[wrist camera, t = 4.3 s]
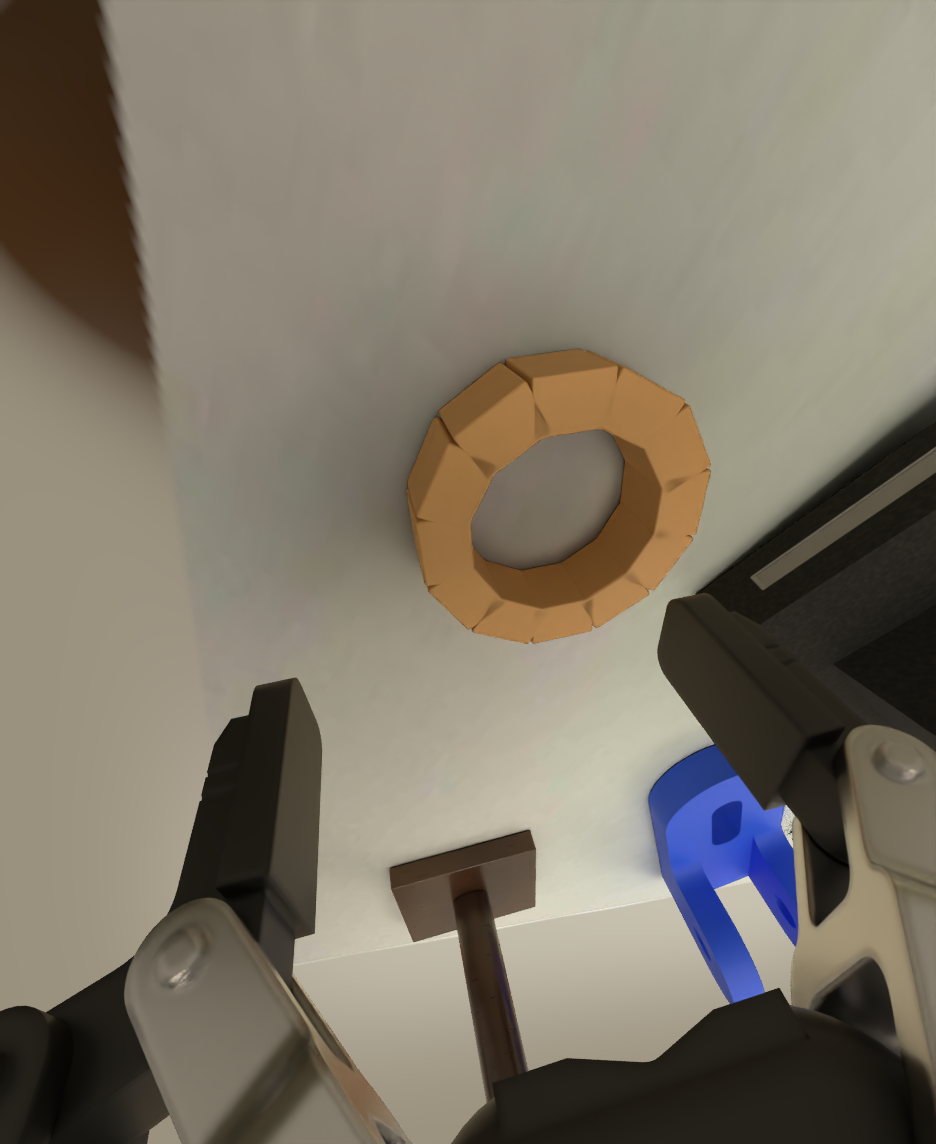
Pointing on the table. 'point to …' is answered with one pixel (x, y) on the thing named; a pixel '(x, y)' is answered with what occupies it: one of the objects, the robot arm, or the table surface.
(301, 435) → the table surface
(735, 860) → the bracket
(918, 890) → the robot arm
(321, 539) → the table surface
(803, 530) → the camera
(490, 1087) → the brown peg stand
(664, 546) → the orange segmented ring
